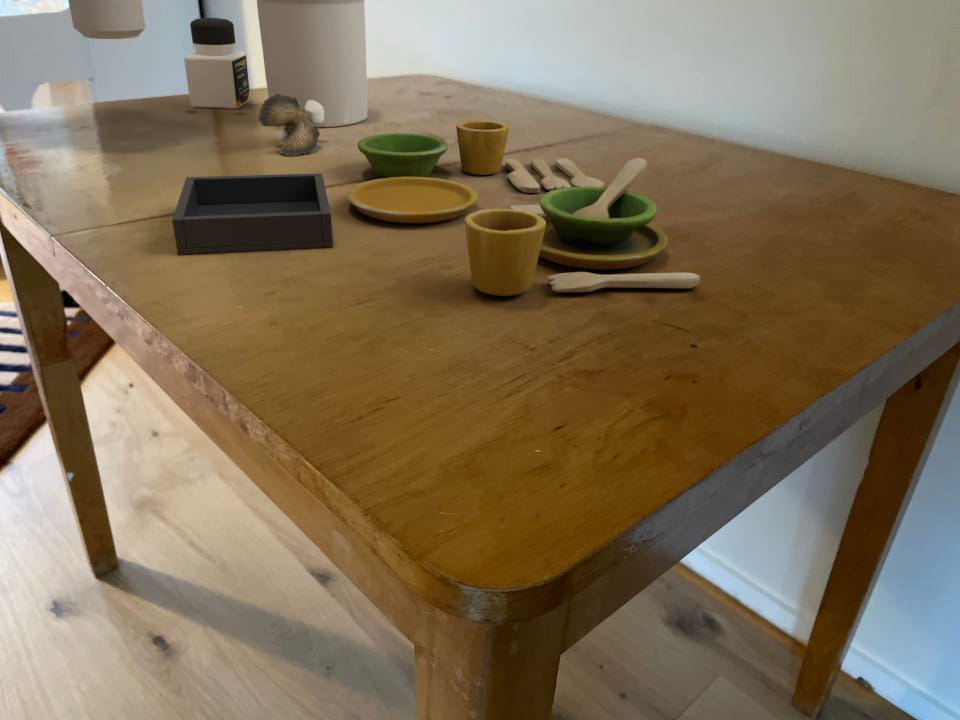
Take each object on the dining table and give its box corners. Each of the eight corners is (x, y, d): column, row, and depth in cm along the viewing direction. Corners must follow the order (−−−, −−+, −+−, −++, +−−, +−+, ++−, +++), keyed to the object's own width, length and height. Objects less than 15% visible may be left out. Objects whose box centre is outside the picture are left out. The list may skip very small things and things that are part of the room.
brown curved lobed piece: (257, 128, 100) (244, 131, 91) (285, 80, 98) (274, 77, 90) (309, 162, 102) (301, 168, 93) (338, 115, 100) (332, 116, 92)
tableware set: (715, 298, 60) (731, 218, 57) (350, 311, 56) (345, 226, 53) (575, 160, 96) (579, 107, 93) (345, 162, 91) (342, 106, 88)
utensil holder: (322, 134, 104) (313, -12, 95) (243, 118, 110) (228, -19, 102) (391, 116, 115) (388, -15, 106) (315, 103, 121) (307, -22, 113)
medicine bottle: (238, 109, 116) (228, 21, 110) (190, 107, 116) (177, 19, 110) (251, 100, 122) (242, 17, 116) (205, 98, 122) (194, 15, 116)
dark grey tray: (177, 254, 64) (172, 219, 63) (190, 207, 75) (186, 177, 73) (332, 247, 67) (330, 213, 65) (324, 203, 78) (322, 173, 76)
